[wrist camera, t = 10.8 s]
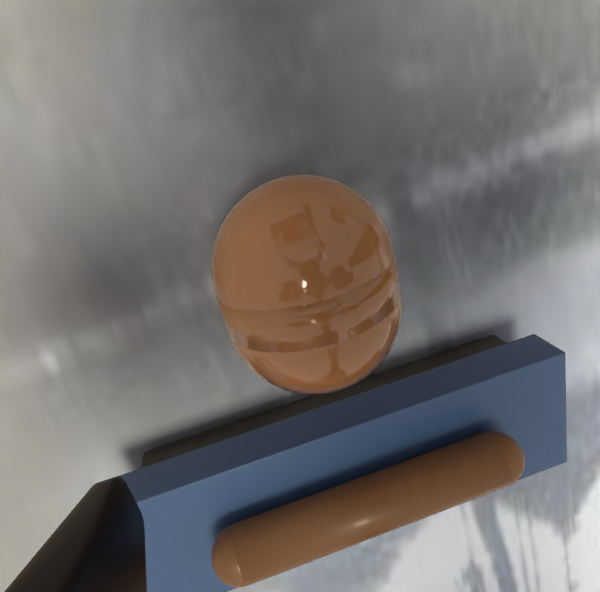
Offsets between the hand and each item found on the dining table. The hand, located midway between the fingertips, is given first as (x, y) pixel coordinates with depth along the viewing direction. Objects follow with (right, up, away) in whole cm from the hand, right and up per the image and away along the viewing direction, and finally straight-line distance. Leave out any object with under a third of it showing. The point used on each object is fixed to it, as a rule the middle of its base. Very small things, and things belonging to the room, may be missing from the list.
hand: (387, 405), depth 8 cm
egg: (-1, +2, +6) cm, 6 cm away
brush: (0, -4, +11) cm, 11 cm away
